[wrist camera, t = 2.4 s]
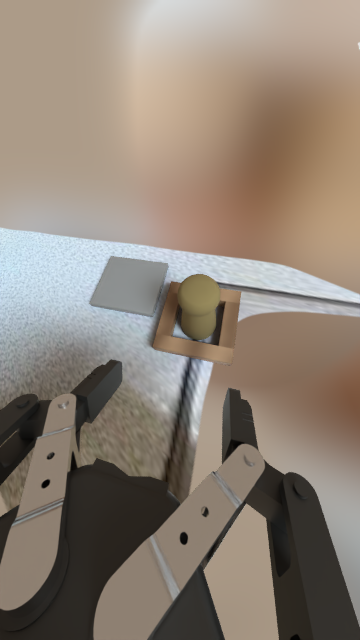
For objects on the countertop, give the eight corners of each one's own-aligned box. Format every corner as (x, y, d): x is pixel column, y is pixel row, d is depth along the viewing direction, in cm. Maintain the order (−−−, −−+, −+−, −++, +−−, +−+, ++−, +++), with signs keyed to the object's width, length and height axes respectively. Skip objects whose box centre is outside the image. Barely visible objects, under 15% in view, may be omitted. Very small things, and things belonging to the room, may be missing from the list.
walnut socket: (155, 349, 29) (152, 346, 27) (172, 287, 33) (171, 281, 32) (229, 365, 27) (232, 364, 25) (238, 297, 31) (241, 291, 30)
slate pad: (92, 306, 33) (89, 303, 33) (113, 259, 37) (111, 256, 36) (152, 317, 31) (151, 314, 30) (168, 266, 35) (167, 263, 34)
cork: (223, 317, 30) (235, 279, 20) (204, 346, 29) (208, 321, 18) (192, 301, 32) (190, 258, 22) (173, 328, 30) (161, 296, 20)
